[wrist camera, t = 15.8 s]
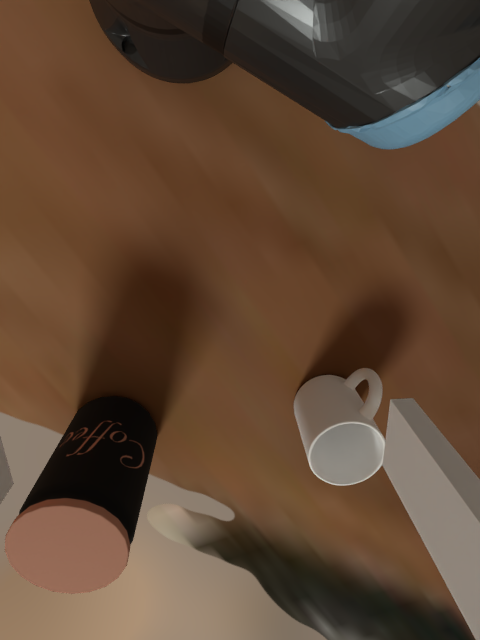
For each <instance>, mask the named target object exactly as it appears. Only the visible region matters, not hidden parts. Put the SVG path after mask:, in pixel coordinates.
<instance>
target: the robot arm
mask: <svg viewBox="0 0 480 640" xmlns="http://www.w3.org/2000/svg"><path fill="white" fill-rule="evenodd" d="M89 1H90V3H91V6H92V9H93V12H94V14H95V16H96V18H97V20H98V22H99V24H100V26H101V28H102V30H103V31H104V33H105V34H106V36H107V37H108V39H109V40H110V41H111V43H112V44H113V45H114V46H115V48H116V49H117V50H118V51H119V52H120V53H121V54H122V55H123V56H124V57H125V58H126V59H127V60H128V61H129V62H130V63H131V64H132V65H134V66H135V67H136V68H138V69H139V70H141V71H142V72H144V73H146V74H148V75H150V76H152V77H154V78H157V79H159V80H163V81H167V82H172V83H193V82H198V81H202V80H205V79H208V78H210V77H213V76H215V75H216V74H218V73H220V72H221V71H223V70H224V69H226V68H227V67H228V66H229V65H231V64H232V63H234V64H236V65H238V66H239V67H241V68H242V69H244V70H246V71H247V72H249V73H250V74H252V75H254V76H255V77H257V78H258V79H260V80H261V81H263V82H265V83H266V84H268V85H269V86H271V87H273V88H274V89H276V90H277V91H279V92H281V93H282V94H284V95H285V96H287V97H289V98H290V99H292V100H293V101H295V102H297V103H298V104H300V105H301V106H303V107H305V108H306V109H308V110H309V111H311V112H313V113H314V114H316V115H317V116H319V117H321V118H322V119H324V120H325V122H326V123H327V124H328V125H329V126H330V127H331V128H333V129H334V130H339V131H340V132H343V133H349V134H351V135H353V136H354V137H356V138H358V139H360V140H362V141H364V142H365V143H367V144H369V145H371V146H373V147H377V148H381V149H397V148H403V147H407V146H410V145H413V144H415V143H417V142H420V141H422V140H424V139H426V138H428V137H430V136H431V135H433V134H435V133H437V132H438V131H440V130H441V129H443V128H444V127H446V126H447V125H449V124H450V123H452V122H453V121H454V120H456V119H457V118H458V117H460V116H461V115H462V114H463V113H464V112H466V111H467V110H468V109H469V108H471V107H472V106H473V105H474V104H475V103H476V102H477V101H479V100H480V0H89ZM382 465H383V467H384V469H385V471H386V473H387V475H388V477H389V479H390V480H391V482H392V484H393V486H394V488H395V490H396V492H397V493H398V495H399V497H400V499H401V501H402V503H403V505H404V507H405V508H406V510H407V512H408V514H409V516H410V518H411V520H412V521H413V523H414V525H415V527H416V529H417V531H418V533H419V534H420V536H421V538H422V540H423V542H424V544H425V546H426V548H427V549H428V551H429V553H430V555H431V557H432V559H433V561H434V562H435V564H436V566H437V568H438V570H439V572H440V574H441V575H442V577H443V579H444V581H445V583H446V585H447V587H448V589H449V590H450V592H451V594H452V596H453V598H454V600H455V602H456V603H457V605H458V607H459V609H460V611H461V613H462V615H463V617H464V618H465V620H466V622H467V624H468V626H469V628H470V630H471V631H472V633H473V635H474V637H475V639H476V640H480V479H479V478H478V477H477V476H476V475H475V473H474V472H473V471H472V470H471V468H470V467H469V466H468V465H467V464H466V462H465V461H464V460H463V459H462V458H461V456H460V455H459V454H458V453H457V451H456V450H455V449H454V448H453V447H452V445H451V444H450V443H449V442H448V440H447V439H446V438H445V437H444V436H443V434H442V433H441V432H440V431H439V430H438V428H437V427H436V426H435V425H434V423H433V422H432V421H431V420H430V419H429V417H428V416H427V415H426V414H425V412H424V411H423V410H422V409H421V408H420V406H419V405H418V404H417V403H416V402H415V400H414V399H413V398H409V399H391V400H390V408H389V416H388V424H387V432H386V440H385V448H384V456H383V464H382ZM13 484H14V483H13V480H12V476H11V473H10V469H9V466H8V462H7V459H6V455H5V452H4V448H3V444H2V441H1V437H0V503H1V502H2V501H3V499H4V498H5V496H6V495H7V493H8V492H9V490H10V488H11V487H12V485H13Z"/></svg>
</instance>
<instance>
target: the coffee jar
mask: <svg viewBox="0 0 480 640" xmlns="http://www.w3.org/2000/svg"><path fill="white" fill-rule="evenodd" d="M156 440H157V430H156V425H155V422H154V421H153V419H152V417H151V416H150V414H149V412H148V411H146V410H145V409H144V408H143V407H142V406H141V405H140V404H138V403H137V402H134V401H132V400H130V399H128V398H123V397H118V396H111V397H101V398H98V399H96V400H93V401H90V402H88V403H86V404H85V405H84V406H83V407H82V408H81V409H79V410H78V411H77V413H76V415H75V416H74V418H73V420H72V422H71V423H70V425H69V427H68V428H67V430H66V432H65V434H64V435H63V437H62V439H61V440H60V442H59V444H58V446H57V447H56V449H55V451H54V453H53V454H52V456H51V458H50V459H49V461H48V463H47V465H46V466H45V468H44V470H43V471H42V473H41V475H40V476H39V478H38V480H37V482H36V483H35V485H34V487H33V488H32V490H31V492H30V494H29V495H28V497H27V499H26V501H25V502H24V504H23V506H22V508H21V510H20V512H19V515H18V516H17V518H16V519H15V520H14V522H13V523H12V525H11V527H10V529H9V530H8V532H7V534H6V538H5V552H6V555H7V557H8V560H9V562H10V564H11V565H12V567H13V568H14V569H15V570H16V571H17V572H18V573H19V574H20V576H21V577H23V578H25V579H26V580H28V581H29V582H31V583H32V584H34V585H36V586H38V587H41V588H45V589H47V590H50V591H53V592H62V593H71V594H74V593H84V592H91V591H94V590H97V589H100V588H102V587H106V586H107V585H108V584H110V583H111V582H113V581H114V580H116V579H117V578H118V577H119V576H120V574H121V573H122V571H123V570H124V569H125V567H126V566H127V562H128V557H129V551H130V544H131V543H132V541H133V537H134V534H135V529H136V525H137V521H138V517H139V512H140V508H141V504H142V500H143V496H144V491H145V487H146V483H147V479H148V474H149V470H150V466H151V462H152V458H153V453H154V449H155V445H156Z"/></svg>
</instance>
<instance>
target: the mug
mask: <svg viewBox="0 0 480 640" xmlns="http://www.w3.org/2000/svg"><path fill="white" fill-rule="evenodd" d="M364 379H366V380H367V381H368V384H369V394H368V397H367V399H366V401H365V403H363V401H362V399H361V398H360V396H359V394H358V393H357V391H356V390H355V388H356V386H357V385H358V384H359V383H360V382H361V381H362V380H364ZM381 399H382V383H381V380H380V378H379V376H378V374H377V373H376V372H375V371H373V370H372V369H369V368H361V369H358V370H356V371H355V372H353V373H352V374H351V375H350V376H349V377H348V378H347V379H346V380H345V379H344V378H341V377H338V376H334V375H322V376H318V377H315V378H312V379H311V380H309V381H307V382H306V383H305V384H304V385H303V386H302V387H301V388H300V389H299V391H298V392H297V394H296V396H295V400H294V412H295V417H296V420H297V424H298V427H299V431H300V434H301V438H302V441H303V444H304V448H305V451H306V455H307V458H308V462H309V465H310V468H311V470H312V471H313V472H314V474H315V475H316V476H317V477H318V478H320V479H321V480H323V481H325V482H327V483H330V484H334V485H352V484H356V483H359V482H362V481H364V480H366V479H368V478H369V477H371V476H372V475H373V474H375V473H376V472H377V471H378V469H379V468H380V467H381V465H382V464H383V456H384V448H385V439H384V437H383V435H382V433H381V432H380V430H379V428H378V427H377V425H376V423H375V422H374V420H373V417H374V416H375V414H376V412H377V410H378V408H379V406H380V403H381Z"/></svg>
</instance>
